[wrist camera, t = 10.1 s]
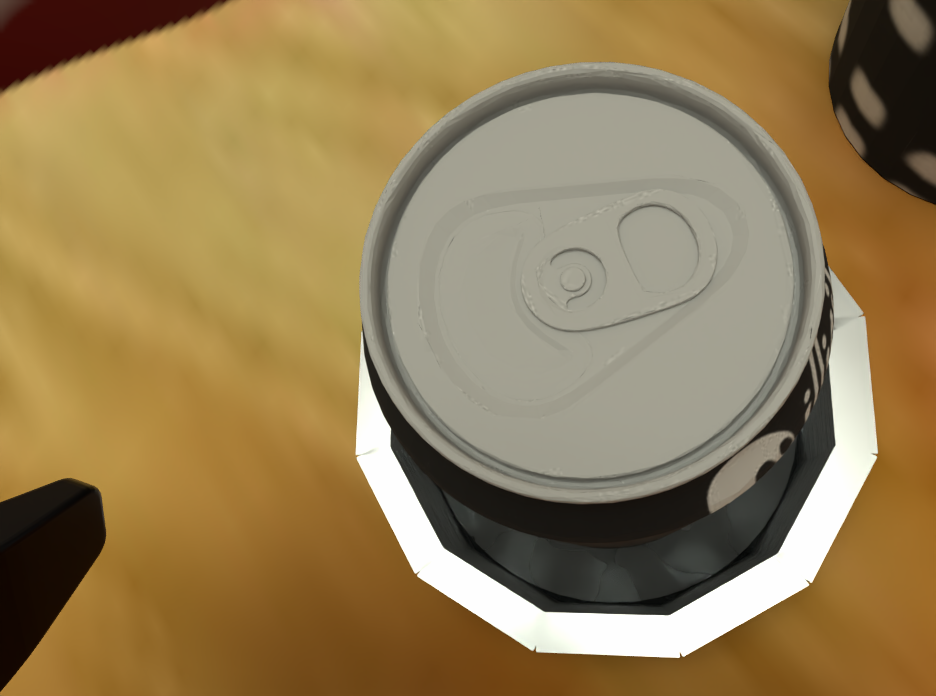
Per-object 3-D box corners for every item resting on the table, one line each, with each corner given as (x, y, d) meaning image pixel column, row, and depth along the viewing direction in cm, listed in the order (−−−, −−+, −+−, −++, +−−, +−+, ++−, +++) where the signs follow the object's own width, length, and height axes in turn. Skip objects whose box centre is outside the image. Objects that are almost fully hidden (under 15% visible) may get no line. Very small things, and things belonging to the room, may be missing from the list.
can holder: (927, 502, 22) (1009, 487, 17) (528, 728, 22) (503, 774, 17) (675, 149, 25) (685, 57, 20) (333, 352, 25) (268, 307, 21)
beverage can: (446, 347, 23) (269, 143, 12) (677, 259, 23) (729, -46, 11) (528, 585, 21) (414, 619, 10) (781, 496, 21) (970, 424, 9)
